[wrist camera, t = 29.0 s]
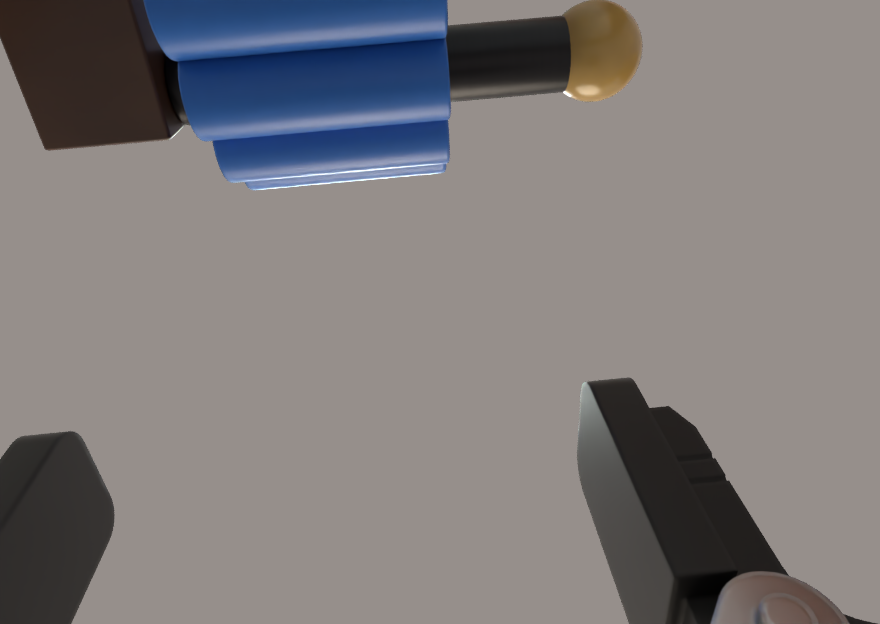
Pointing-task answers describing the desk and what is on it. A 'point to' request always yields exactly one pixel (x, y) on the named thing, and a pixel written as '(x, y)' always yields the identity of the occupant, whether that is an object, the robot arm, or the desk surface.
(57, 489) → the robot arm
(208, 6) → the ridged ring
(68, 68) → the hook stand
